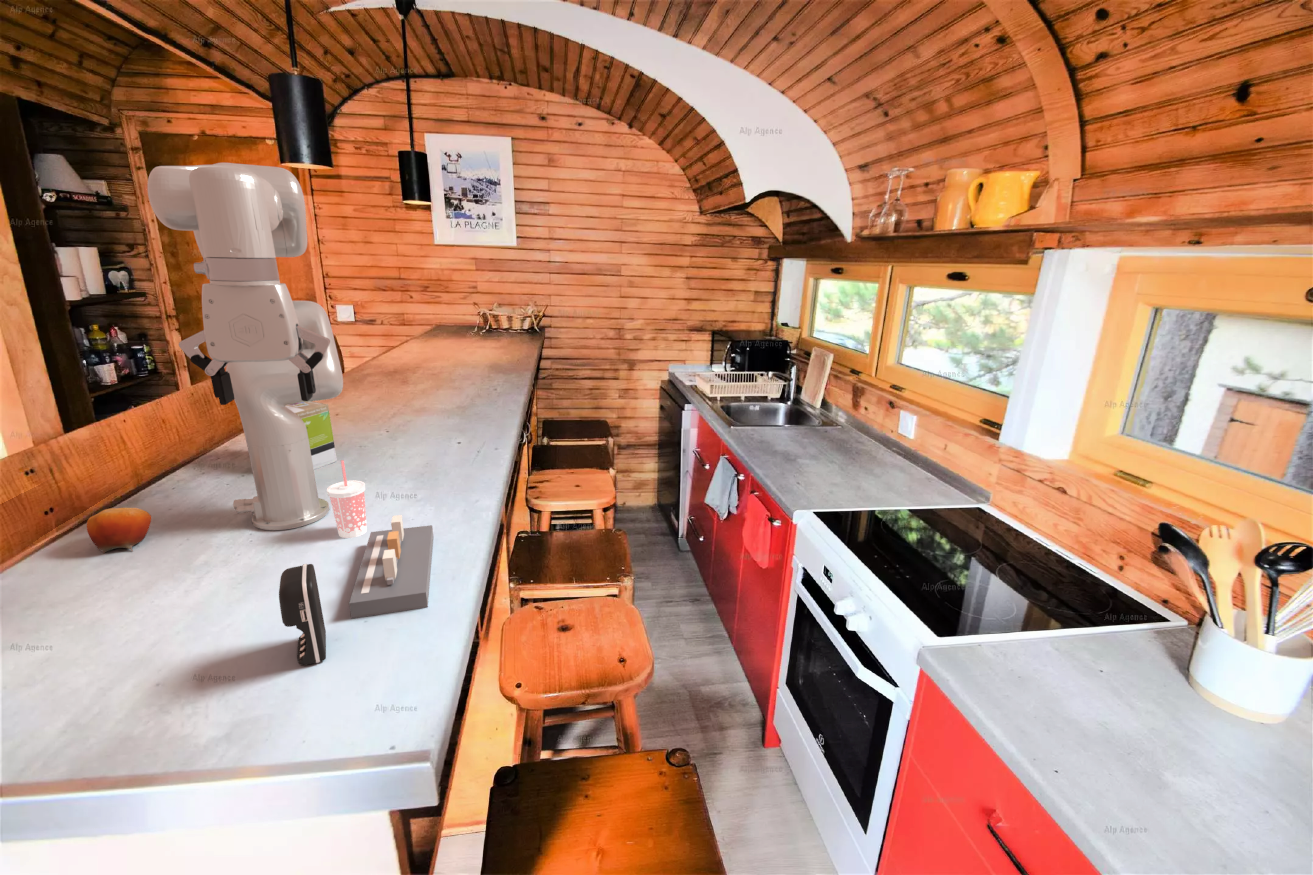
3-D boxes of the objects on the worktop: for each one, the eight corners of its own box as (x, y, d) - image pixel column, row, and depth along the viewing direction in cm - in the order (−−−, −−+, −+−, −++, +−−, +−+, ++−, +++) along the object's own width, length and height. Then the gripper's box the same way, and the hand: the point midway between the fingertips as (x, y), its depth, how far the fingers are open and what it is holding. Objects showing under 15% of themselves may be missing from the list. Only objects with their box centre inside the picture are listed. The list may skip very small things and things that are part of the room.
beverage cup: (378, 525, 108) (368, 455, 103) (359, 541, 102) (347, 467, 97) (347, 523, 108) (336, 453, 104) (326, 538, 102) (314, 465, 98)
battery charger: (293, 639, 76) (278, 564, 73) (326, 631, 78) (312, 557, 74) (291, 672, 70) (274, 592, 67) (326, 662, 72) (312, 584, 69)
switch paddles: (385, 585, 84) (381, 561, 83) (395, 535, 98) (393, 514, 97) (395, 583, 84) (392, 559, 83) (404, 534, 99) (402, 513, 98)
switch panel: (351, 618, 81) (349, 602, 80) (372, 544, 101) (370, 531, 100) (427, 606, 84) (425, 591, 83) (433, 537, 104) (432, 524, 103)
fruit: (78, 558, 91) (75, 508, 93) (100, 560, 98) (97, 514, 100) (143, 547, 95) (140, 500, 96) (160, 551, 102) (157, 506, 103)
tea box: (255, 465, 135) (242, 404, 130) (295, 452, 143) (284, 394, 139) (300, 475, 129) (289, 412, 125) (339, 461, 138) (329, 402, 134)
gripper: (148, 273, 69) (181, 411, 74) (312, 274, 74) (332, 404, 79) (177, 270, 75) (206, 397, 81) (325, 272, 80) (343, 391, 86)
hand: (268, 400), depth 80 cm, fingers open, 9 cm apart
